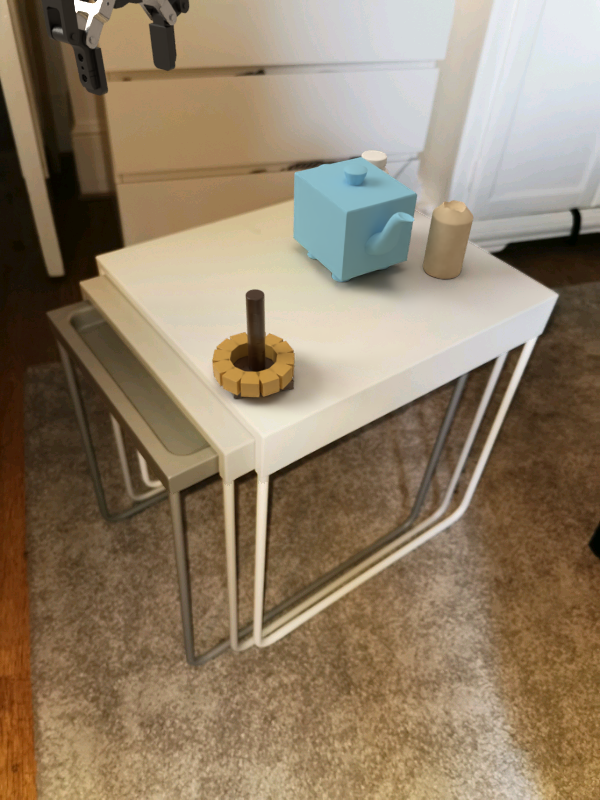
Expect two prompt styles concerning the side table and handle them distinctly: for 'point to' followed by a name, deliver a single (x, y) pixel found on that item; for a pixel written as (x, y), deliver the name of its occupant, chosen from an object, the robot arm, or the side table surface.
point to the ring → (253, 381)
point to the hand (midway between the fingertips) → (132, 80)
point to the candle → (447, 239)
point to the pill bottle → (376, 159)
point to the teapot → (352, 217)
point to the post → (256, 338)
